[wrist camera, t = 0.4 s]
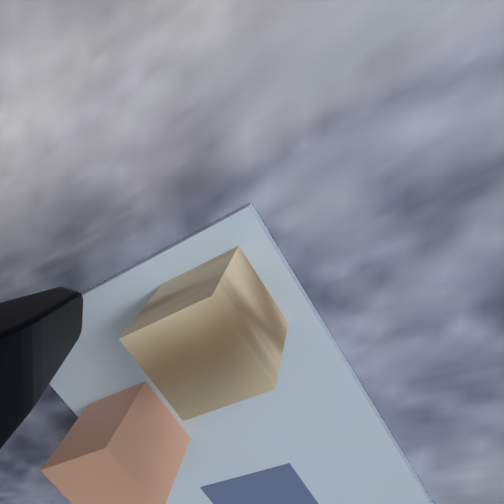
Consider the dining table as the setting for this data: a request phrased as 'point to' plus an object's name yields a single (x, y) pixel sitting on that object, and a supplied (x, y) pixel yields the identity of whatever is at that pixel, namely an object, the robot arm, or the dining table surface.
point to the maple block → (210, 336)
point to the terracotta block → (120, 451)
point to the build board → (255, 408)
